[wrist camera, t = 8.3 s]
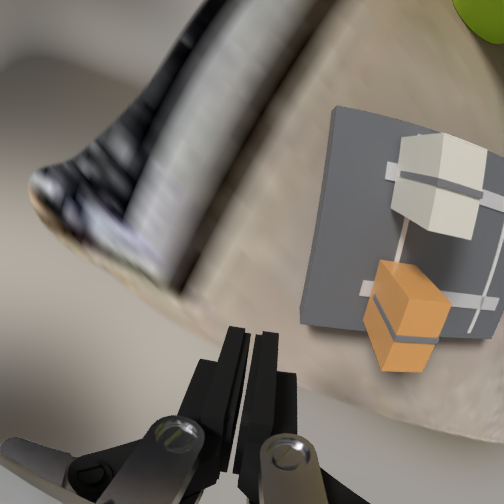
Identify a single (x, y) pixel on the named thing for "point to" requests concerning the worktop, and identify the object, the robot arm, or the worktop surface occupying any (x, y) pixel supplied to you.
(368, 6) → the worktop surface
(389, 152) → the mixer panel
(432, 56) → the worktop surface
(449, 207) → the fader ivory
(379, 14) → the worktop surface
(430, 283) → the fader orange
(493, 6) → the soap dispenser
